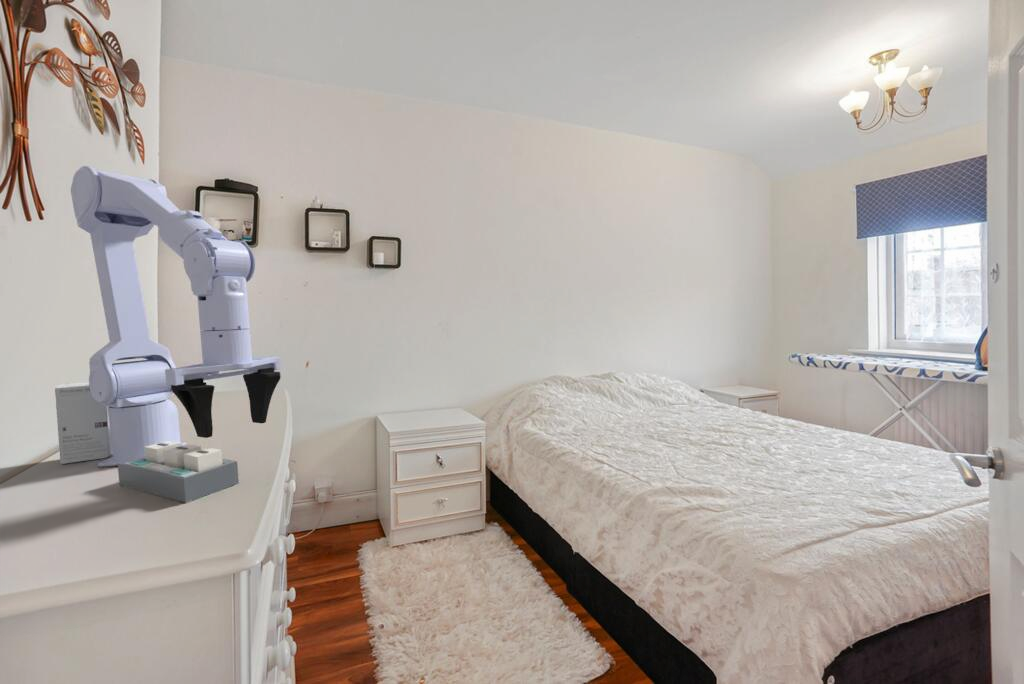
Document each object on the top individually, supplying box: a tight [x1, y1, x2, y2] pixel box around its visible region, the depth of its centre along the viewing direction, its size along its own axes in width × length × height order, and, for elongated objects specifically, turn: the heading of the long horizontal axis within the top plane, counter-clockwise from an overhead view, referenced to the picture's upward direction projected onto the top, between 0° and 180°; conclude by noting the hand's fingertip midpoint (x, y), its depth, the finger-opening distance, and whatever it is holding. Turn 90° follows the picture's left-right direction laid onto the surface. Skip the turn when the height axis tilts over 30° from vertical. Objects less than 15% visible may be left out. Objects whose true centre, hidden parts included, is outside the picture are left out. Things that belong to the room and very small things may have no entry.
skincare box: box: [54, 381, 112, 465], centre depth 74 cm, size 6×4×12 cm
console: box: [117, 456, 240, 504], centre depth 62 cm, size 15×7×3 cm, turn 64°
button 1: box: [144, 441, 182, 463], centre depth 64 cm, size 3×3×2 cm
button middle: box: [163, 443, 202, 468], centre depth 62 cm, size 3×3×2 cm
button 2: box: [183, 447, 223, 472], centre depth 60 cm, size 3×3×2 cm
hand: (233, 429), depth 63 cm, fingers open, 7 cm apart
